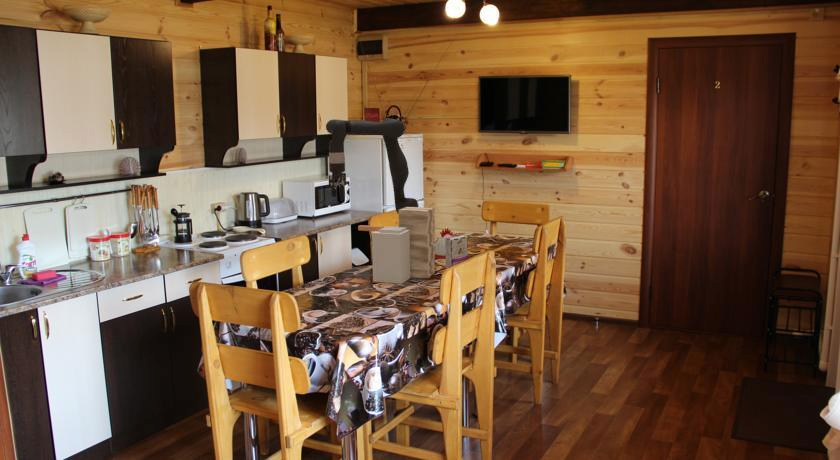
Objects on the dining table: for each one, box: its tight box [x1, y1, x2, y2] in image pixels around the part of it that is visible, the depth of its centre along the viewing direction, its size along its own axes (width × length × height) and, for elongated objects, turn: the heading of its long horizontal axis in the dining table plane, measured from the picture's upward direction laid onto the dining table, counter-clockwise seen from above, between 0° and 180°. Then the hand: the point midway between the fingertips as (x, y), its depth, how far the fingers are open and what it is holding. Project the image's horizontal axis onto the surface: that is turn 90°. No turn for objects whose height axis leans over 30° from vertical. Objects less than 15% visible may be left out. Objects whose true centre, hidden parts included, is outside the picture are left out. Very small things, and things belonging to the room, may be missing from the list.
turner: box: [357, 224, 406, 234], centre depth 346 cm, size 9×22×2 cm, turn 70°
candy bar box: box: [445, 235, 469, 269], centre depth 367 cm, size 11×5×16 cm, turn 129°
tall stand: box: [398, 206, 436, 279], centre depth 356 cm, size 11×14×32 cm
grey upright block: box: [371, 230, 411, 285], centre depth 347 cm, size 12×14×23 cm
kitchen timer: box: [435, 227, 453, 260], centre depth 401 cm, size 14×14×15 cm
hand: (338, 195), depth 357 cm, fingers open, 8 cm apart
